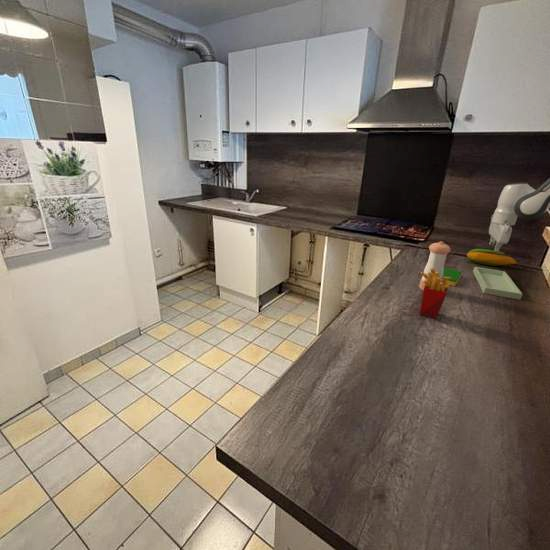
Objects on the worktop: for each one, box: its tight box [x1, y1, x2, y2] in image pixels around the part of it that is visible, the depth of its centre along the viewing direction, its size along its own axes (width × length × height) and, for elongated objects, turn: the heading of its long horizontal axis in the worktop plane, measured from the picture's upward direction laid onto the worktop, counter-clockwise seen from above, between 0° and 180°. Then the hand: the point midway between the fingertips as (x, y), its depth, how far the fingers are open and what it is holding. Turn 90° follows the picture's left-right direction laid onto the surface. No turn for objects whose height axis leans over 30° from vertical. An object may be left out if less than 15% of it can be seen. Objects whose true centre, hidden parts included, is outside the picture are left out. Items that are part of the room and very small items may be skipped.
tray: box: [472, 266, 523, 300], centre depth 119 cm, size 25×12×2 cm, turn 156°
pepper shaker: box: [418, 241, 451, 291], centre depth 110 cm, size 7×7×19 cm
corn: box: [466, 248, 518, 267], centre depth 140 cm, size 7×8×20 cm
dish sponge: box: [441, 267, 463, 287], centre depth 123 cm, size 7×14×2 cm, turn 141°
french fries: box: [419, 268, 451, 320], centre depth 93 cm, size 9×8×15 cm
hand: (493, 248), depth 138 cm, fingers open, 8 cm apart
